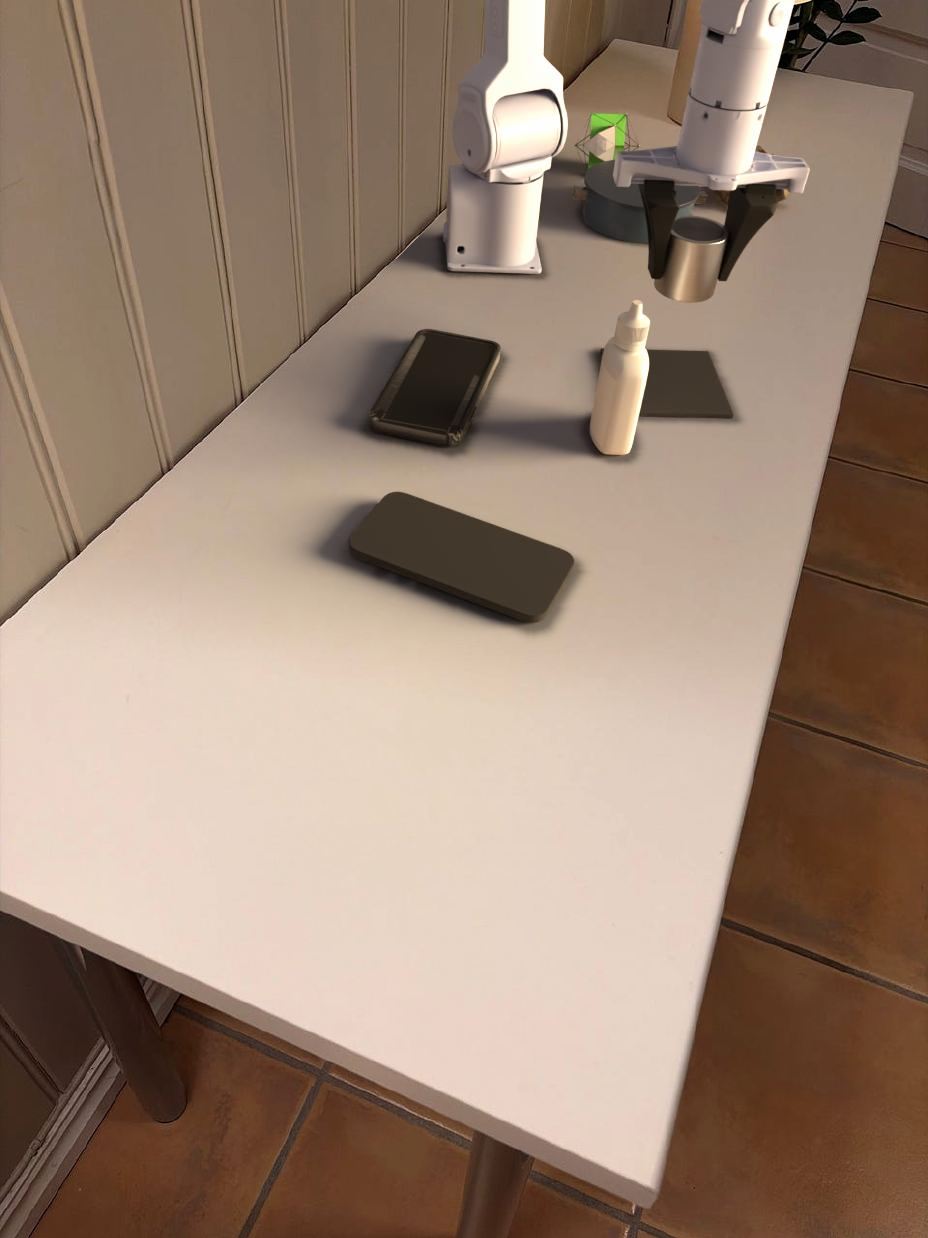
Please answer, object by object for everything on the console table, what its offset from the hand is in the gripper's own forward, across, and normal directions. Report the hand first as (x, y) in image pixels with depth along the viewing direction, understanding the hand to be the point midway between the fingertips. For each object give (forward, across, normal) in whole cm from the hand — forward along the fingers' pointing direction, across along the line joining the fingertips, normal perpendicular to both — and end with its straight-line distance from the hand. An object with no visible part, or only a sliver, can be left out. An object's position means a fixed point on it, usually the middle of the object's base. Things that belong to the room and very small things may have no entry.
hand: (686, 274), depth 81 cm
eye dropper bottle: (+10, -6, -9) cm, 15 cm away
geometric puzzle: (+10, +1, +44) cm, 45 cm away
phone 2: (+10, -19, -24) cm, 32 cm away
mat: (+10, 0, -1) cm, 10 cm away
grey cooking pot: (+10, +3, +32) cm, 33 cm away
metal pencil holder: (+1, 0, 0) cm, 1 cm away
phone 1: (+10, -20, -3) cm, 23 cm away
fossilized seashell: (+10, +17, +38) cm, 42 cm away
